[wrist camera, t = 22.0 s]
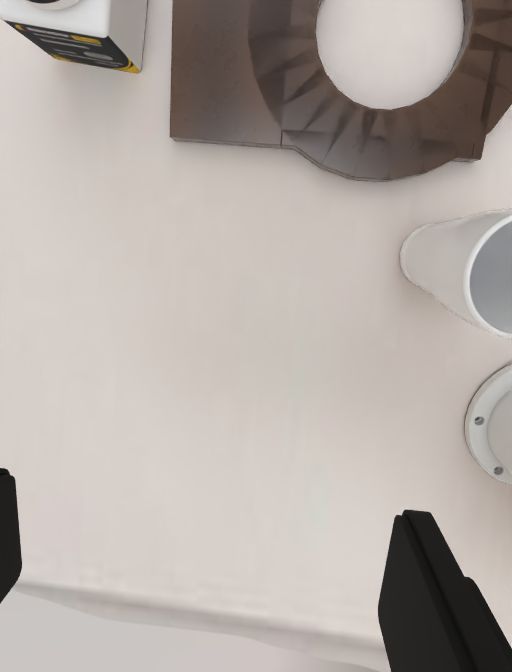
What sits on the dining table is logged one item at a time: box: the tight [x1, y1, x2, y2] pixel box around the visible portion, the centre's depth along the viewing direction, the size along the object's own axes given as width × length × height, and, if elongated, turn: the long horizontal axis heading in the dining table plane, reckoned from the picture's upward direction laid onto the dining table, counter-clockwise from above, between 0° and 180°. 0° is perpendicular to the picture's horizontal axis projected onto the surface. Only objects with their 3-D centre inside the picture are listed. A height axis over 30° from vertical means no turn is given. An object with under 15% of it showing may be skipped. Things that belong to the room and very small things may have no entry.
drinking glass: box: [400, 208, 512, 339], centre depth 28 cm, size 7×7×15 cm
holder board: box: [170, 0, 512, 182], centre depth 31 cm, size 26×21×2 cm
